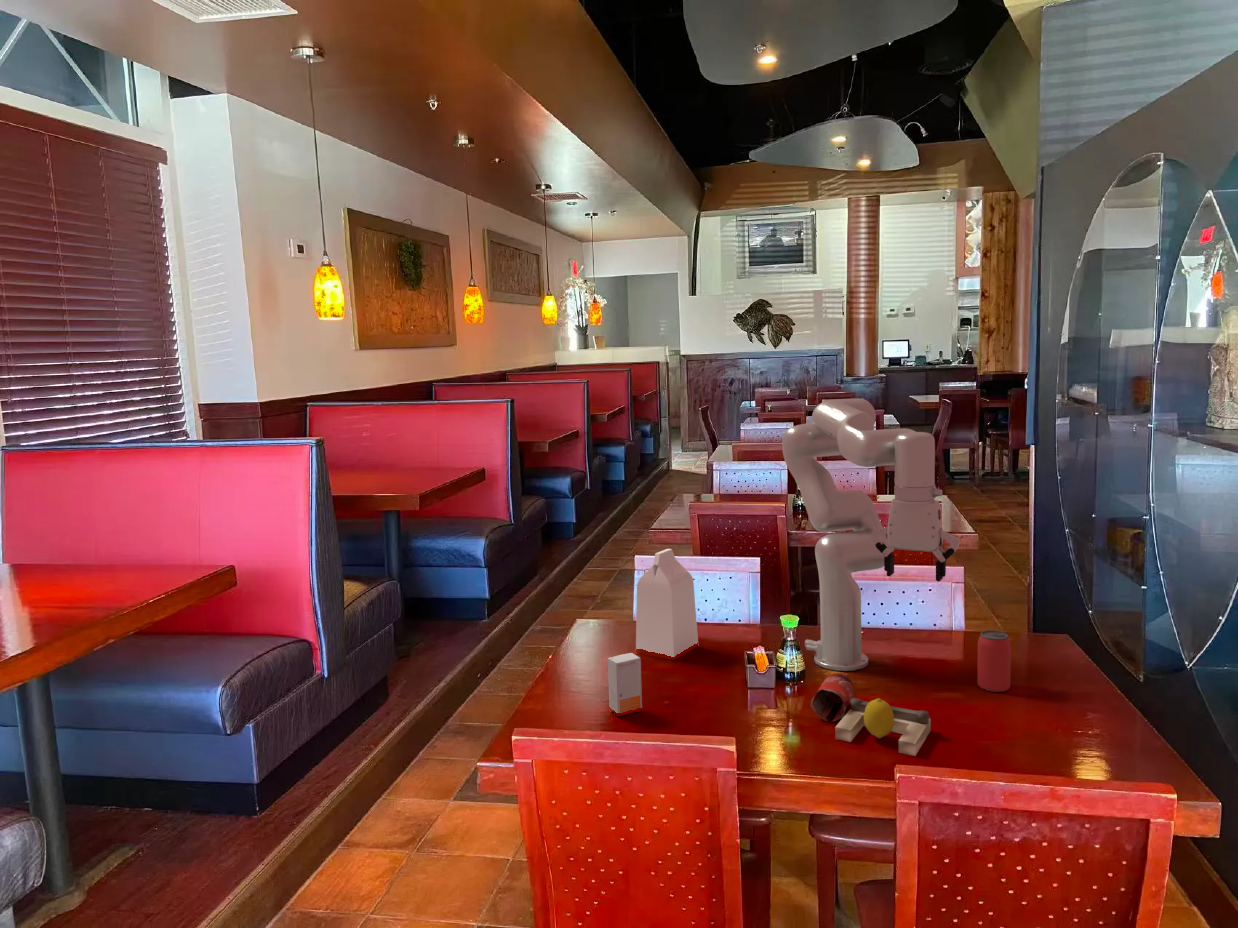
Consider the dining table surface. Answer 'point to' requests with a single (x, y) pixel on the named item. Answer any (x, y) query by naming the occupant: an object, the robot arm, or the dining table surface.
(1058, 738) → the dining table surface
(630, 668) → the skincare box
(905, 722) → the beige u-shaped frame
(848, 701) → the beverage can
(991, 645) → the beer can
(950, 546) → the robot arm
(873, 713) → the lemon
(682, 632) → the milk
